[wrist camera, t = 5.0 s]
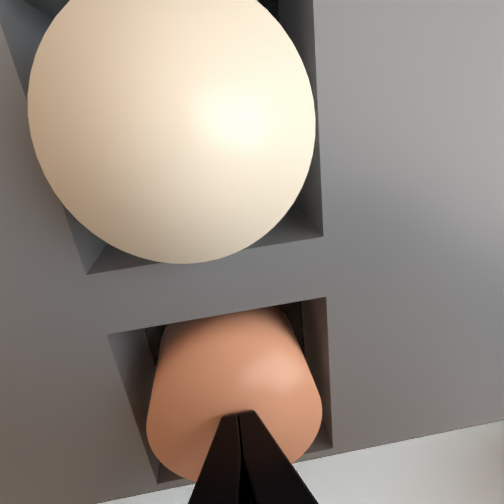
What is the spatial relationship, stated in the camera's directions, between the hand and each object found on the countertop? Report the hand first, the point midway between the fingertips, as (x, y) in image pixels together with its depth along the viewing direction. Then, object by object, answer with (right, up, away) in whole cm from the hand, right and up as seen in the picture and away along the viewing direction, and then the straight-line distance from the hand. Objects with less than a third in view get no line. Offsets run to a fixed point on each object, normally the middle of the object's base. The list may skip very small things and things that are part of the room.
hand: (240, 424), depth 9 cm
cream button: (-1, +7, -1) cm, 7 cm away
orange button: (0, +1, +3) cm, 3 cm away
